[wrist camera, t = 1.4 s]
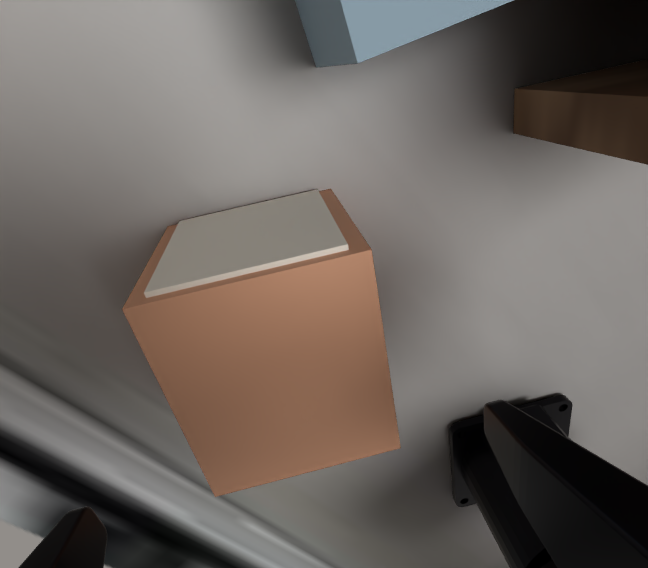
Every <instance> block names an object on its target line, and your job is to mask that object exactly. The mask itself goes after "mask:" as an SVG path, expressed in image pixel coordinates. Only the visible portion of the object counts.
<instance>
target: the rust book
mask: <svg viewBox="0 0 648 568" xmlns="http://www.w3.org/2000/svg"><path fill="white" fill-rule="evenodd" d="M122 310H123V312H124V314H125V316H126V318H127V320H128V322H129V324H130V326H131V328H132V330H133V333H134V335H135V337H136V339H137V341H138V343H139V345H140V347H141V349H142V351H143V353H144V355H145V357H146V359H147V361H148V363H149V365H150V367H151V369H152V371H153V373H154V375H155V377H156V379H157V381H158V383H159V385H160V387H161V389H162V391H163V393H164V395H165V397H166V399H167V401H168V403H169V405H170V407H171V409H172V411H173V413H174V415H175V417H176V419H177V421H178V423H179V425H180V427H181V429H182V431H183V433H184V435H185V437H186V439H187V441H188V443H189V445H190V447H191V449H192V451H193V453H194V455H195V457H196V459H197V461H198V463H199V465H200V467H201V469H202V471H203V473H204V475H205V477H206V479H207V481H208V483H209V485H210V487H211V489H212V492H213V494H214V496H215V497H216V496H220V495H224V494H228V493H232V492H235V491H239V490H243V489H247V488H251V487H255V486H258V485H262V484H266V483H270V482H274V481H277V480H281V479H285V478H289V477H293V476H296V475H300V474H304V473H308V472H312V471H316V470H319V469H323V468H327V467H331V466H335V465H338V464H342V463H346V462H350V461H354V460H357V459H361V458H365V457H369V456H373V455H377V454H380V453H384V452H388V451H392V450H396V449H399V448H401V447H400V440H399V433H398V427H397V420H396V413H395V406H394V399H393V392H392V386H391V379H390V372H389V365H388V358H387V351H386V345H385V338H384V331H383V324H382V317H381V311H380V304H379V297H378V290H377V283H376V276H375V270H374V263H373V256H372V250H371V248H370V247H369V245H368V244H367V242H366V241H365V239H364V238H363V236H362V235H361V233H360V232H359V230H358V229H357V227H356V226H355V224H354V223H353V221H352V220H351V218H350V217H349V215H348V214H347V212H346V211H345V209H344V208H343V206H342V205H341V203H340V202H339V200H338V199H337V197H336V196H335V194H334V193H333V191H332V190H331V189H327V190H323V191H318V189H316V190H312V191H308V192H303V193H299V194H295V195H290V196H286V197H282V198H277V199H273V200H269V201H264V202H260V203H256V204H251V205H247V206H243V207H238V208H234V209H230V210H225V211H221V212H217V213H212V214H208V215H204V216H199V217H195V218H190V219H186V220H182V221H179V223H178V224H176V225H172V226H168V227H167V229H166V231H165V233H164V234H163V236H162V238H161V240H160V242H159V243H158V245H157V247H156V249H155V251H154V252H153V254H152V256H151V258H150V260H149V261H148V263H147V265H146V267H145V269H144V270H143V272H142V274H141V276H140V278H139V279H138V281H137V283H136V285H135V287H134V289H133V290H132V292H131V294H130V296H129V298H128V299H127V301H126V303H125V305H124V307H123V308H122Z"/></svg>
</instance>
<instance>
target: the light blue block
mask: <svg viewBox="0 0 648 568" xmlns="http://www.w3.org/2000/svg"><path fill="white" fill-rule="evenodd" d="M511 1H513V0H295V3H296V6H297V9H298V12H299V15H300V18H301V21H302V25H303V28H304V31H305V34H306V37H307V40H308V43H309V46H310V49H311V53H312V56H313V59H314V62H315V65H316V67H325V66H336V65H346V64H356V63H360V62H362V61H365V60H367V59H370V58H372V57H375V56H377V55H380V54H382V53H385V52H387V51H390V50H392V49H395V48H397V47H400V46H402V45H404V44H407V43H409V42H412V41H414V40H417V39H419V38H422V37H424V36H427V35H429V34H432V33H434V32H437V31H439V30H442V29H444V28H447V27H449V26H451V25H454V24H456V23H459V22H461V21H464V20H466V19H469V18H471V17H474V16H476V15H479V14H481V13H484V12H486V11H489V10H491V9H494V8H496V7H498V6H501V5H503V4H506V3H508V2H511Z"/></svg>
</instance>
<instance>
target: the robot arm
mask: <svg viewBox="0 0 648 568" xmlns="http://www.w3.org/2000/svg"><path fill="white" fill-rule="evenodd" d="M571 412H572V402H571V401H570V400H569V399H568V398H567V397H566V396H564V395H559V396H555V397H551V398H547V399H543V400H540V401H536V402H532V403H528V404H524V405H521V406H517V407H514V406H513V405H511V404H509V403H508V402H506V401H504V400H497V401H493V402H489V403H486V404H485V406H484V415H482V416H478V417H475V418H471V419H467V420H463V421H459V422H456V423H454V424H453V425H452V426H451V427H450V428H449V440H450V456H451V472H452V488H453V498H454V500H455V503H456V505H457V506H459V507H464V506H468V505H472V504H476V503H477V505H478V507H479V509H480V511H481V513H482V515H483V517H484V519H485V521H486V523H487V525H488V527H489V528H490V530H491V532H492V534H493V536H494V538H495V540H496V542H497V544H498V546H499V548H500V550H501V552H502V553H503V555H504V557H505V559H506V561H507V563H508V565H509V567H510V568H648V485H646V484H644V483H642V482H641V481H639V480H637V479H636V478H634V477H632V476H631V475H629V474H627V473H626V472H624V471H622V470H621V469H619V468H617V467H616V466H614V465H612V464H610V463H609V462H607V461H605V460H604V459H602V458H600V457H599V456H597V455H595V454H594V453H592V452H590V451H589V450H587V449H585V448H583V447H582V446H580V445H578V444H577V443H575V442H573V441H572V440H571V439H570V438H569V437H568V434H569V427H570V419H571ZM106 544H107V531H106V528H105V526H104V525H103V523H102V522H101V521H100V519H99V518H98V517H97V515H96V514H95V512H94V511H93V510H92V509H91V508H90V507H82V508H78V509H74V510H71V511H69V512H68V513H66V514H65V515H64V516H63V517H62V519H61V520H60V521H59V522H58V523H57V524H56V525H55V527H54V528H53V529H52V530H51V531H50V532H49V533H48V535H47V536H46V537H45V538H44V539H43V540H42V542H41V543H40V544H39V545H38V546H37V547H36V548H35V549H34V551H33V552H32V553H31V554H30V555H29V556H28V558H27V559H26V560H25V561H24V562H23V563H22V564H21V565H20V567H19V568H103V566H104V559H105V551H106Z"/></svg>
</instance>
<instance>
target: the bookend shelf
mask: <svg viewBox="0 0 648 568" xmlns="http://www.w3.org/2000/svg"><path fill="white" fill-rule="evenodd" d="M513 133H514V134H519V135H523V136H527V137H531V138H536V139H540V140H544V141H549V142H553V143H557V144H562V145H566V146H570V147H574V148H579V149H583V150H587V151H592V152H596V153H600V154H605V155H609V156H613V157H617V158H622V159H626V160H630V161H635V162H639V163H643V164H648V59H646V60H641V61H637V62H632V63H628V64H623V65H619V66H614V67H610V68H605V69H601V70H596V71H592V72H587V73H583V74H579V75H574V76H570V77H565V78H561V79H556V80H552V81H547V82H543V83H538V84H534V85H529V86H525V87H520V88H516V89H515V91H514V127H513Z"/></svg>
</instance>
